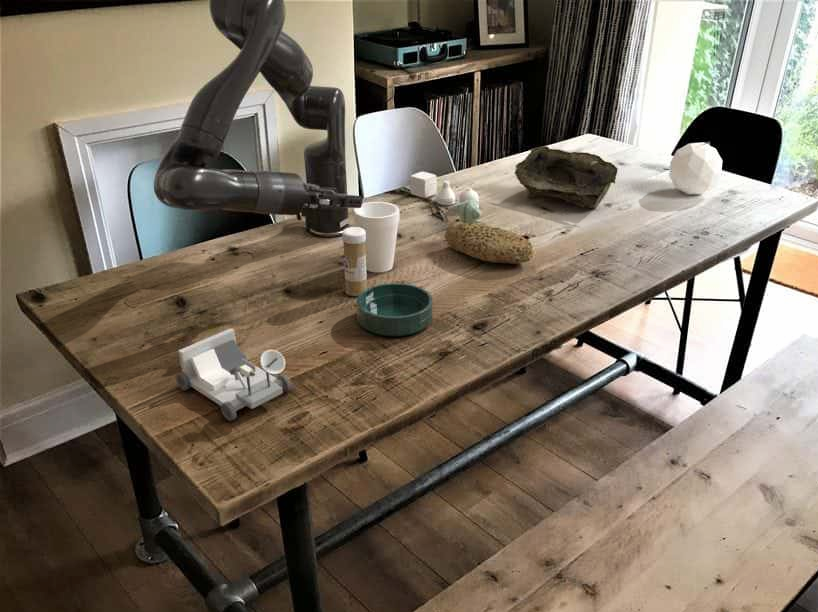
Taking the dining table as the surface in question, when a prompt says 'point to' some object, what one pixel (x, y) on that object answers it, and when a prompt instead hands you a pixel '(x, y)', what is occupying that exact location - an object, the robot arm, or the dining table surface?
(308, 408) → the dining table surface
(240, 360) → the toy car
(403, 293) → the bowl
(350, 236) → the sprinkles bottle
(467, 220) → the mint green faceted piece
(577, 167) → the hollow geode rock
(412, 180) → the container set
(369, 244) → the foam cup
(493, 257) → the sponge
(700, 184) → the geodesic sphere
